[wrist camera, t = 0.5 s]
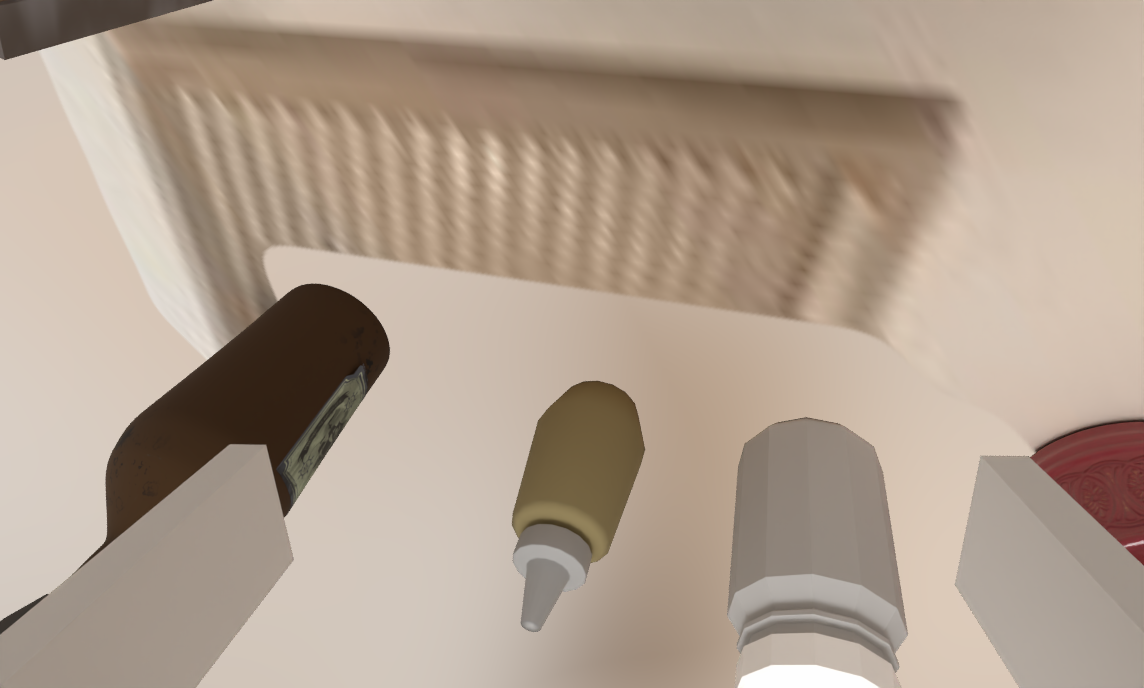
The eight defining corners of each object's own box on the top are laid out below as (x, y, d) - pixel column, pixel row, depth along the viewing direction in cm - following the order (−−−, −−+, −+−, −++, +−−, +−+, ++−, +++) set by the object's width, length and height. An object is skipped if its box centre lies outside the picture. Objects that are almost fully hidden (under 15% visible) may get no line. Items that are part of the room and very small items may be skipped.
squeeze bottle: (567, 351, 47) (478, 562, 33) (669, 394, 47) (622, 623, 33) (538, 420, 52) (450, 628, 39) (630, 459, 52) (575, 680, 39)
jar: (907, 478, 46) (959, 748, 33) (785, 516, 52) (785, 761, 38) (833, 388, 43) (856, 644, 30) (712, 438, 49) (684, 675, 35)
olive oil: (268, 342, 55) (-7, 610, 36) (286, 250, 48) (-40, 521, 29) (380, 402, 56) (171, 693, 37) (414, 320, 49) (179, 627, 30)
